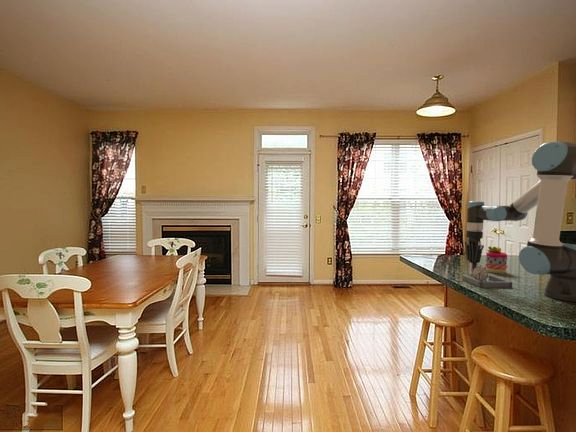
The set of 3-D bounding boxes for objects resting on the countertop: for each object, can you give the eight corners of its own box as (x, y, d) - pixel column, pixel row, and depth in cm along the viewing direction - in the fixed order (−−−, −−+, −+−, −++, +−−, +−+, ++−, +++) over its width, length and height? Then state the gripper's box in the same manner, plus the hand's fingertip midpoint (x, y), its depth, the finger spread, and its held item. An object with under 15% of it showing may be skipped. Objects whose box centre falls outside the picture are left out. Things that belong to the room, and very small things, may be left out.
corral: (512, 287, 155) (512, 282, 155) (480, 287, 155) (480, 282, 155) (491, 279, 171) (491, 275, 170) (462, 279, 170) (462, 274, 170)
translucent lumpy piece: (484, 289, 166) (496, 276, 160) (467, 282, 166) (479, 269, 160) (480, 277, 173) (492, 264, 167) (464, 271, 173) (476, 258, 168)
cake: (489, 269, 198) (490, 244, 198) (509, 272, 190) (510, 246, 190) (482, 271, 192) (483, 245, 191) (503, 274, 184) (504, 248, 183)
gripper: (489, 231, 166) (487, 277, 167) (474, 229, 179) (472, 272, 180) (475, 231, 166) (473, 277, 167) (460, 229, 179) (458, 271, 180)
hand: (472, 274), depth 174 cm, fingers closed
